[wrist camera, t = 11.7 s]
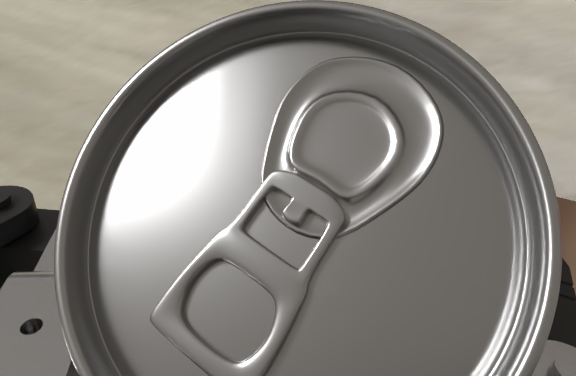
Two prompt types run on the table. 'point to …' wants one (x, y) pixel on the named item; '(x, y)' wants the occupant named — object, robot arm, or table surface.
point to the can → (309, 208)
